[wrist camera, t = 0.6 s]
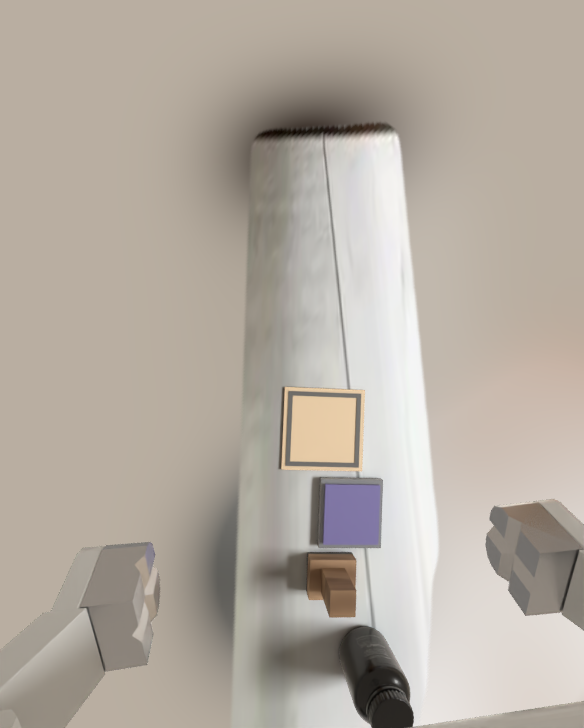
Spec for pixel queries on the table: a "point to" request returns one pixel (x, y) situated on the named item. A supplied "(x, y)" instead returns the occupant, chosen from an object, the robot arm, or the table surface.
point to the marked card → (323, 429)
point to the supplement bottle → (375, 679)
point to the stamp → (333, 581)
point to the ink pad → (350, 512)
